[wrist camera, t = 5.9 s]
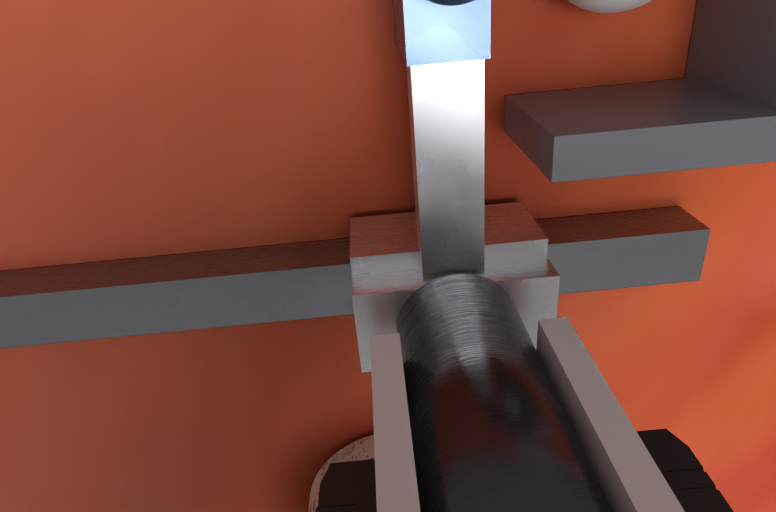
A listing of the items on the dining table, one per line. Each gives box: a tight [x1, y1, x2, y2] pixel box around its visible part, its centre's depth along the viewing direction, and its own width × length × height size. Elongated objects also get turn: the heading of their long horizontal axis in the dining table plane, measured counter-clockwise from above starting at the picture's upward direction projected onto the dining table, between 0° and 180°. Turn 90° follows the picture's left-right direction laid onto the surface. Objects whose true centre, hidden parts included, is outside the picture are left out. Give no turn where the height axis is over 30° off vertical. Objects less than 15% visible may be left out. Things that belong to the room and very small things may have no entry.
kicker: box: [350, 0, 612, 512], centre depth 12 cm, size 6×14×14 cm, turn 5°
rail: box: [0, 206, 710, 348], centre depth 20 cm, size 27×2×2 cm, turn 95°
